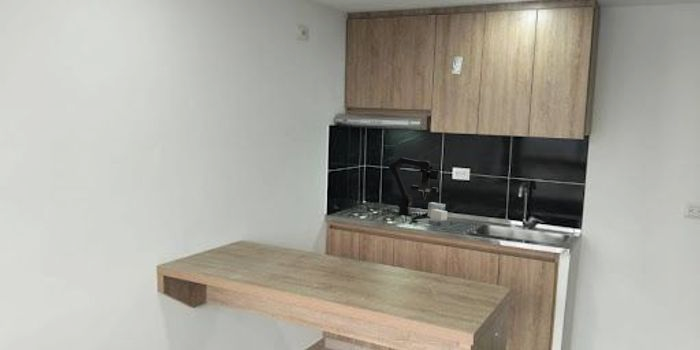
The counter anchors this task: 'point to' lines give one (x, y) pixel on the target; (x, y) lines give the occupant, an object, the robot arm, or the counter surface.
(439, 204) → the light bulb box
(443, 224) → the socket board
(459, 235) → the counter surface
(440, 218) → the white rectangular block
